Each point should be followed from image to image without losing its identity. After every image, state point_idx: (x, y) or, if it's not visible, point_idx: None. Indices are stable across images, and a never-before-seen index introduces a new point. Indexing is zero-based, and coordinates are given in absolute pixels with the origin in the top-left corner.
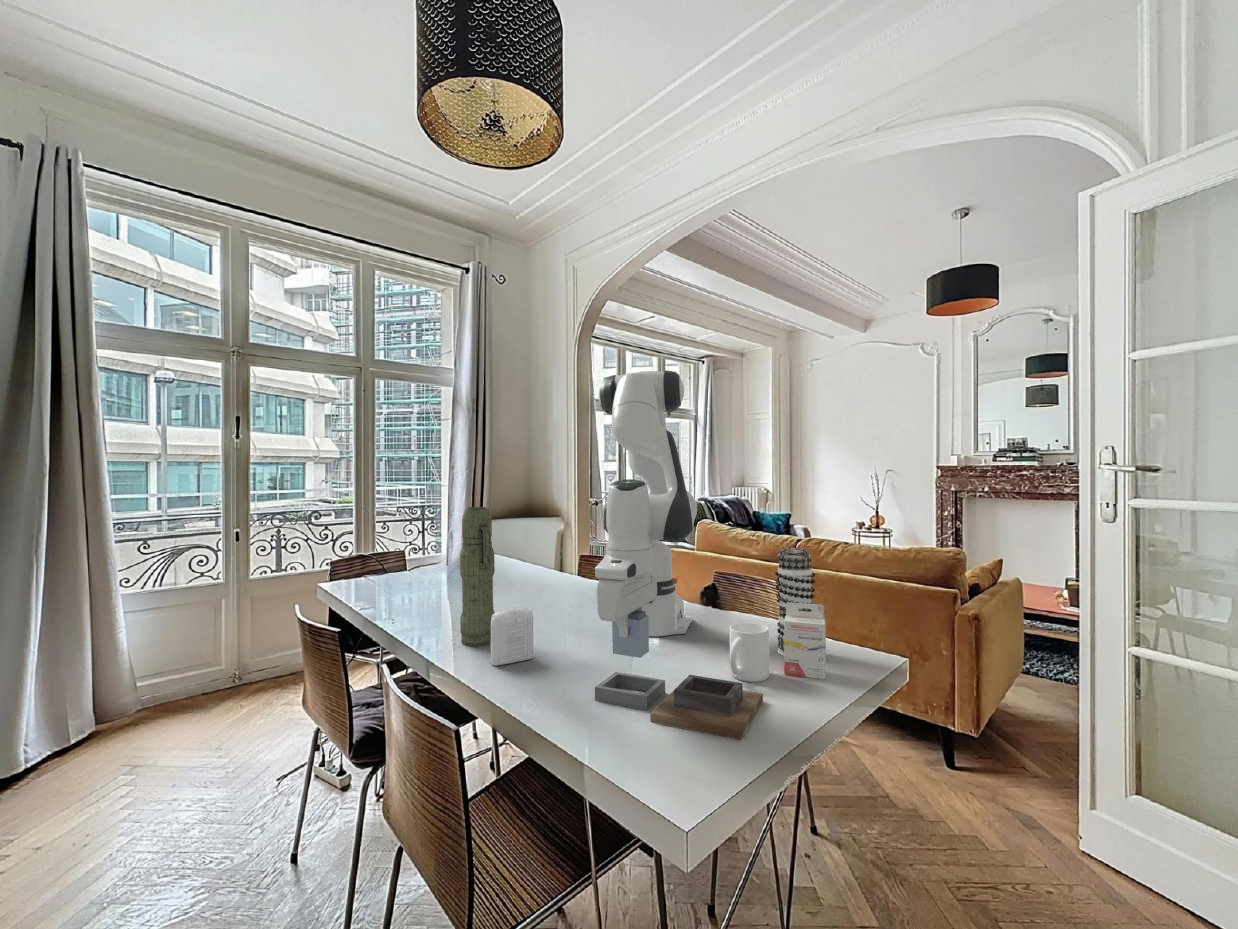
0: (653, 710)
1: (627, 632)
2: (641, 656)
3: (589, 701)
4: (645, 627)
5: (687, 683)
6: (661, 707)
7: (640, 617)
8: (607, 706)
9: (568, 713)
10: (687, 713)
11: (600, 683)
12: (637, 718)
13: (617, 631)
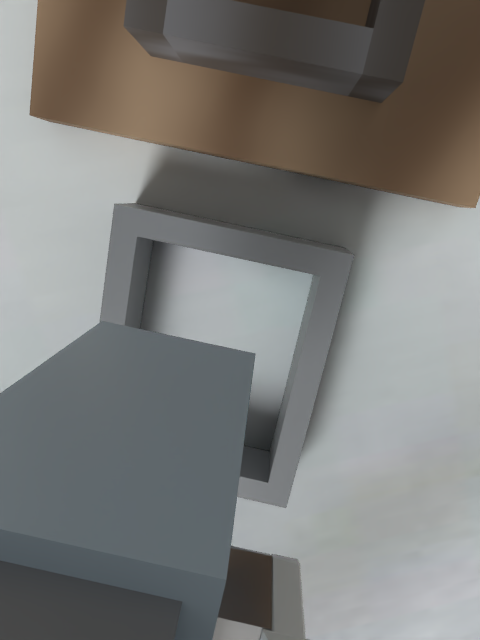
0: (445, 199)
1: (291, 590)
2: (237, 352)
3: (301, 490)
4: (75, 431)
5: (280, 10)
6: (405, 166)
7: (112, 605)
8: (335, 415)
9: (424, 534)
10: (460, 11)
11: (240, 494)
12: (433, 271)
13: None
